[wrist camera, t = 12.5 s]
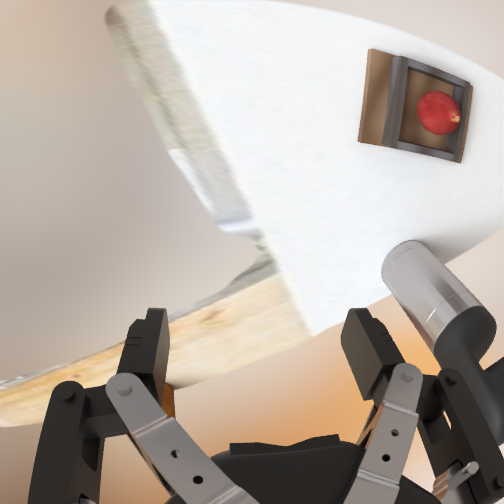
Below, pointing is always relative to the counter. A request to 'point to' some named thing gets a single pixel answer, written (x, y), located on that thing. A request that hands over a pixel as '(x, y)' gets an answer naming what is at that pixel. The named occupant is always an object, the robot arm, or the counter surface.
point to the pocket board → (409, 106)
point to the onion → (438, 113)
